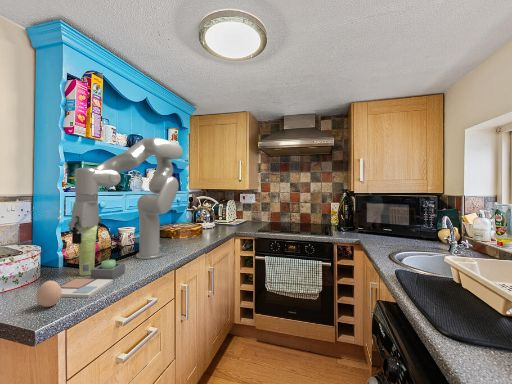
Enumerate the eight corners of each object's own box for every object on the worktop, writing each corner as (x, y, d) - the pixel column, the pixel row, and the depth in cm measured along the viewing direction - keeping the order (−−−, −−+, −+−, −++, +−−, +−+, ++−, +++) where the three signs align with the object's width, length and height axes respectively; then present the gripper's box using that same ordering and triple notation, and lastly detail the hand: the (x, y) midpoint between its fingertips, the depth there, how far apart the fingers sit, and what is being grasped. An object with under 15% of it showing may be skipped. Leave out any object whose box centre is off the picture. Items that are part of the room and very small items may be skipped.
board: (75, 281, 94) (75, 277, 94) (113, 282, 93) (113, 279, 93) (45, 296, 81) (45, 292, 81) (88, 297, 80) (88, 294, 80)
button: (106, 269, 101) (106, 259, 101) (118, 269, 101) (118, 259, 101) (98, 273, 97) (98, 263, 97) (110, 273, 97) (110, 263, 96)
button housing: (104, 272, 103) (104, 262, 103) (124, 272, 103) (124, 263, 103) (90, 280, 95) (90, 269, 95) (112, 280, 95) (112, 270, 95)
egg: (32, 308, 73) (32, 282, 73) (54, 300, 79) (54, 276, 78) (43, 312, 71) (43, 286, 71) (65, 303, 76) (65, 279, 76)
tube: (84, 271, 104) (84, 224, 103) (97, 271, 105) (97, 224, 104) (76, 276, 98) (76, 227, 98) (90, 276, 99) (89, 227, 98)
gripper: (92, 197, 109) (91, 236, 109) (60, 199, 92) (58, 245, 92) (109, 198, 109) (108, 237, 109) (80, 199, 92) (78, 246, 92)
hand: (85, 241), depth 100 cm, fingers open, 9 cm apart
